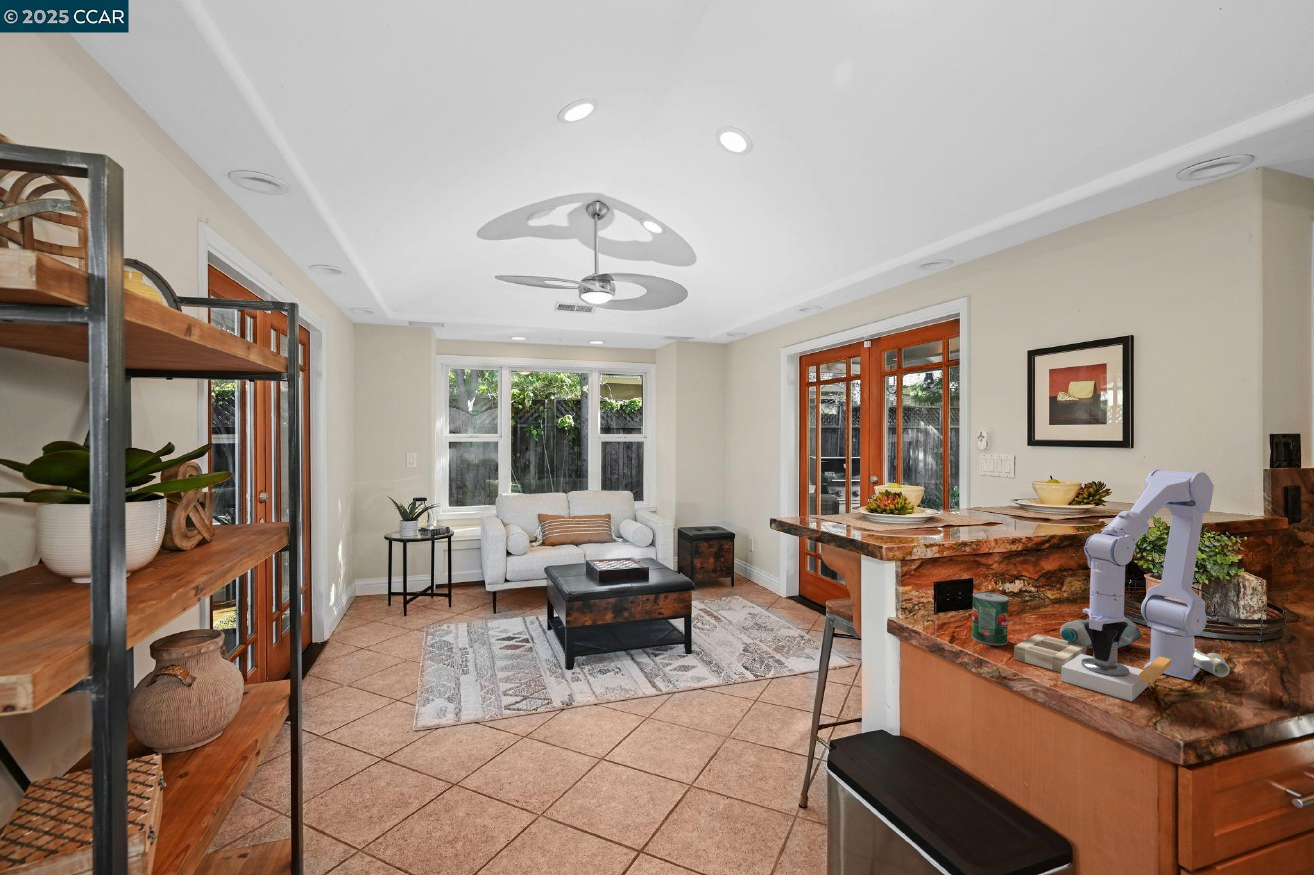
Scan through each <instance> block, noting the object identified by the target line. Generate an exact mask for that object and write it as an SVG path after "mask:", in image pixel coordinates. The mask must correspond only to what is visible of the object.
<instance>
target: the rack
mask: <svg viewBox="0 0 1314 875" xmlns="http://www.w3.org/2000/svg"><path fill="white" fill-rule="evenodd" d="M1080 654H1084V655H1087V649H1086V645H1081V644H1077V643H1073V642H1068V641H1065V640H1064V639H1060V638H1057V637H1053V636H1048V635H1045V634H1040V633H1036V634H1035V635H1033V636H1030V637H1029V638H1027V639H1025V640H1022V641H1021V642H1020V643H1018V644H1015V645H1014V646H1013V660H1015V661H1016V660H1017V661H1019V662H1023V663H1026V664H1030V665H1034V666H1037V667H1041V668H1044V669H1048V670H1051V671H1053V672H1054V671H1055V672H1057V673H1061V667H1062V666H1063V665H1065V664H1066V663H1068V662H1069V661H1071V660H1072V659H1074V658H1075V657H1077V656H1078V655H1080Z"/></svg>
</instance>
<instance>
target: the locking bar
mask: <svg viewBox="0 0 1314 875" xmlns="http://www.w3.org/2000/svg"><path fill="white" fill-rule="evenodd" d="M1170 666H1171V659H1168V658H1164V657H1160V656H1159V657H1158V658H1157V659H1156V660H1154V661H1153V662H1152V663H1151V664H1150V665H1149V666H1148V667H1147V668H1143V669H1142V670H1143V671H1142V672H1141V673H1140V674H1139V680H1142V681H1145V682H1148V684H1153V683H1154V682H1155V681H1156V680H1157V679H1159V677H1161V675H1163V674H1164V673H1163V672H1164V671H1165V670H1166V669H1167V668H1169V667H1170Z"/></svg>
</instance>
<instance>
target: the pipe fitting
mask: <svg viewBox="0 0 1314 875" xmlns="http://www.w3.org/2000/svg"><path fill="white" fill-rule="evenodd" d="M1194 667H1198V668H1200V670H1201V669H1202V670H1203V671H1205V672H1207V673H1209V674H1211V675H1213V676H1214V677H1217V678H1225V677H1227V676H1229V674H1230V669H1231V668H1230V665H1229V664H1228V663H1226V660H1225V658H1224V657H1223V655H1220V654H1219V653H1217V652H1211V653H1207V654H1206V653H1204V652H1202V651H1200V650H1198V649H1197V648H1195V658H1194Z"/></svg>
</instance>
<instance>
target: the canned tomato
mask: <svg viewBox="0 0 1314 875" xmlns="http://www.w3.org/2000/svg"><path fill="white" fill-rule="evenodd" d="M1009 600H1010V599H1009V597H1008V596H1005V595H1003V594H1000V593H995V592H988V591H976V592H973V593H972V623H971V638H972V639H973V640H974V641H976V642H977V643H980V644H984V645H990V646H1005V645H1007V644H1008V643H1009V642H1008V636H1009V635H1008V633H1009Z"/></svg>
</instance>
